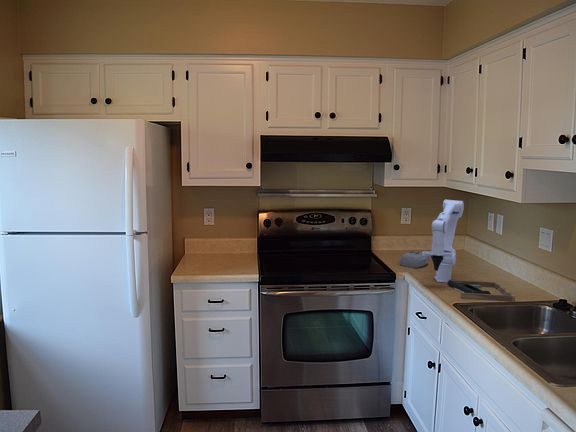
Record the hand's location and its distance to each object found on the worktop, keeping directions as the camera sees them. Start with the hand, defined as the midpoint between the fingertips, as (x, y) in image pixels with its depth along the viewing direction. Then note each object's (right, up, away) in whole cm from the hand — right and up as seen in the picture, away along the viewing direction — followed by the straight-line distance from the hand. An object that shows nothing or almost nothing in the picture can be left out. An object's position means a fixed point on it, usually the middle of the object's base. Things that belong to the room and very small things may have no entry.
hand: (436, 270), depth 223 cm
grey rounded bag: (+3, -3, +49) cm, 49 cm away
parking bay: (+20, -10, -4) cm, 23 cm away
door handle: (+17, -11, -1) cm, 20 cm away
